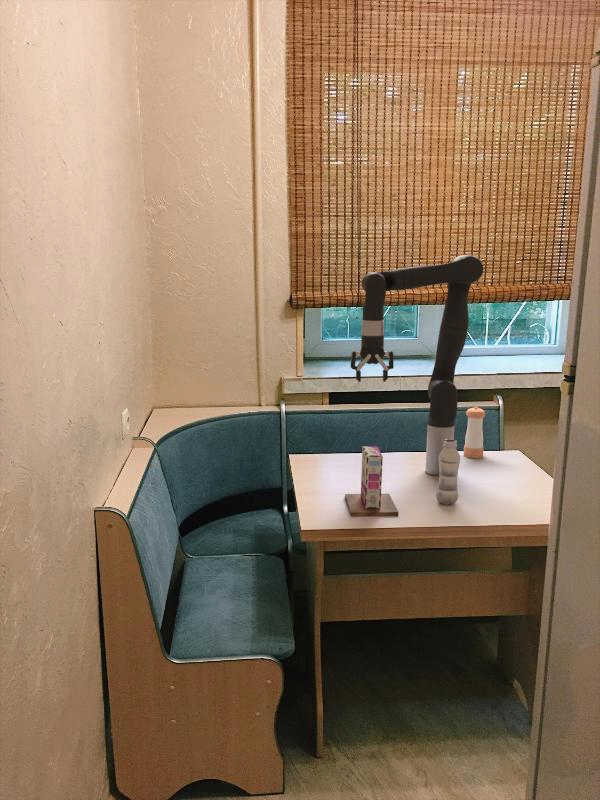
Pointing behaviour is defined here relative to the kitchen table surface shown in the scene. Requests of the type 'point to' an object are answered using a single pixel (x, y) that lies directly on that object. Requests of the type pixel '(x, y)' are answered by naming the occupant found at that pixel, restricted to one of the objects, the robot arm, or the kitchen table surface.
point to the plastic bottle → (448, 473)
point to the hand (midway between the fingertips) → (371, 381)
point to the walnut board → (358, 509)
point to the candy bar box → (371, 477)
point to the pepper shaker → (474, 433)
